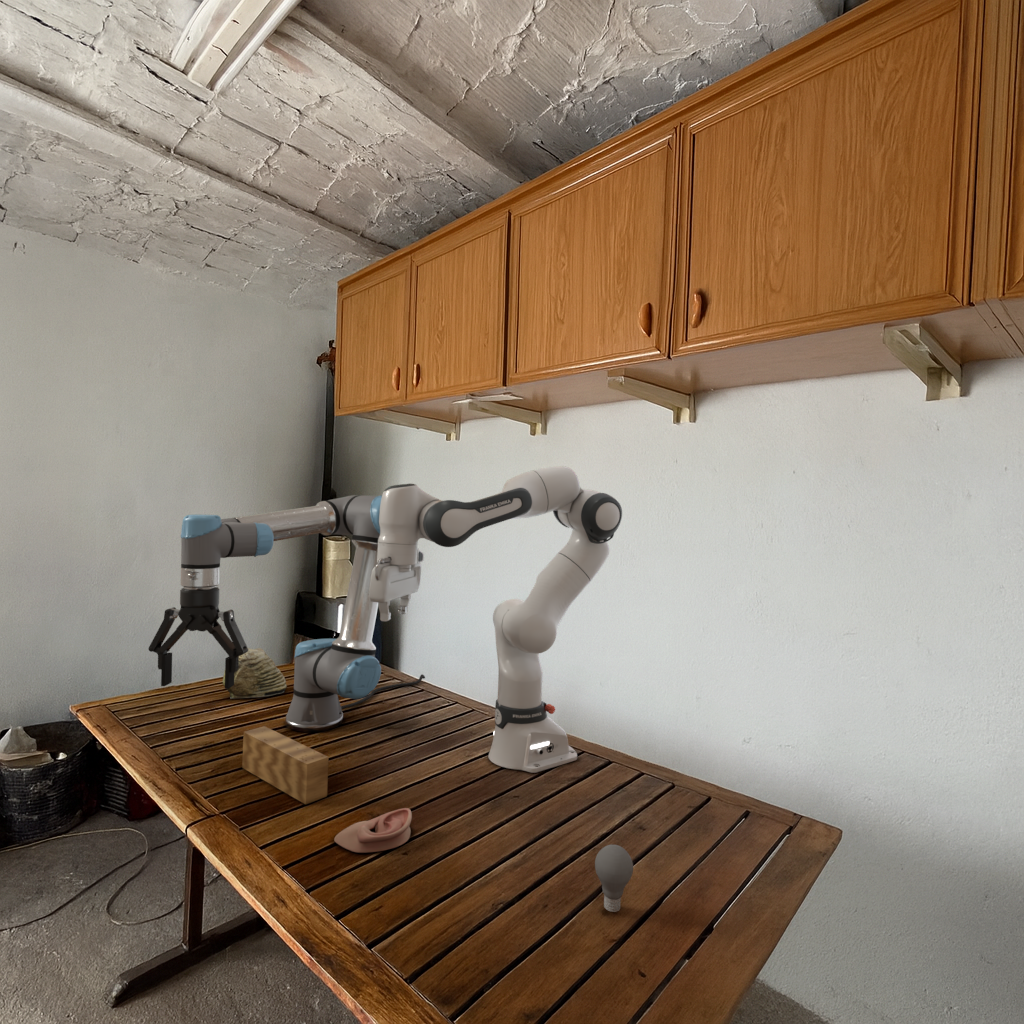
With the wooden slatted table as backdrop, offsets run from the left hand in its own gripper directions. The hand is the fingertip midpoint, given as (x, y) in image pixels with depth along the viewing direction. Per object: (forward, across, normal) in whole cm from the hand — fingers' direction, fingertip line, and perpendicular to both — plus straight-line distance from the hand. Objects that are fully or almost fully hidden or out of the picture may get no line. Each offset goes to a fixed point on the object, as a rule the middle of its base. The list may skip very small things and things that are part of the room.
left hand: (197, 685), depth 136 cm
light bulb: (+22, +84, -35) cm, 94 cm away
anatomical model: (+22, +42, -17) cm, 51 cm away
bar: (+22, +17, +4) cm, 28 cm away
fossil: (+22, -13, +62) cm, 67 cm away
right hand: (-15, +40, +7) cm, 44 cm away
